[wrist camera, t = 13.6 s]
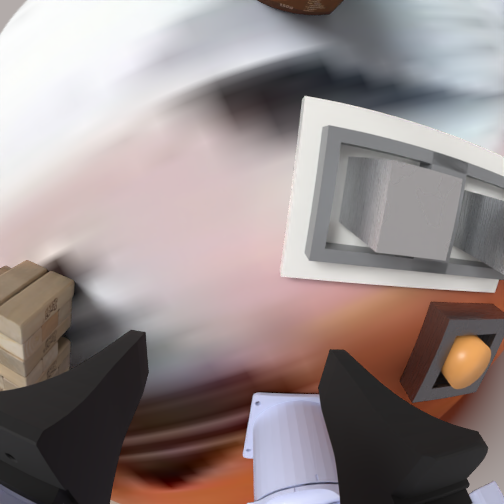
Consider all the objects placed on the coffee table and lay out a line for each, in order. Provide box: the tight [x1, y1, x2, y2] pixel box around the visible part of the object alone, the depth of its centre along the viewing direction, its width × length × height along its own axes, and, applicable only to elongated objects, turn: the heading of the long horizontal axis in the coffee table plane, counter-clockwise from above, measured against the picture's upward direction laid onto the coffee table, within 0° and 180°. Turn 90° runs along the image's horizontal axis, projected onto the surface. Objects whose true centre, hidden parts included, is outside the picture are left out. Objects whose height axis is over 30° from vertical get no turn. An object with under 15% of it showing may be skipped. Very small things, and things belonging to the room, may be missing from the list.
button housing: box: [400, 302, 504, 403], centre depth 21 cm, size 8×8×3 cm
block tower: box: [0, 260, 75, 391], centre depth 21 cm, size 8×8×29 cm
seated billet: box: [453, 190, 504, 275], centre depth 16 cm, size 4×4×6 cm
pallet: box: [280, 96, 504, 293], centre depth 18 cm, size 11×19×2 cm, turn 84°
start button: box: [441, 335, 491, 389], centre depth 20 cm, size 4×4×3 cm
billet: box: [339, 156, 463, 261], centre depth 15 cm, size 4×4×6 cm
